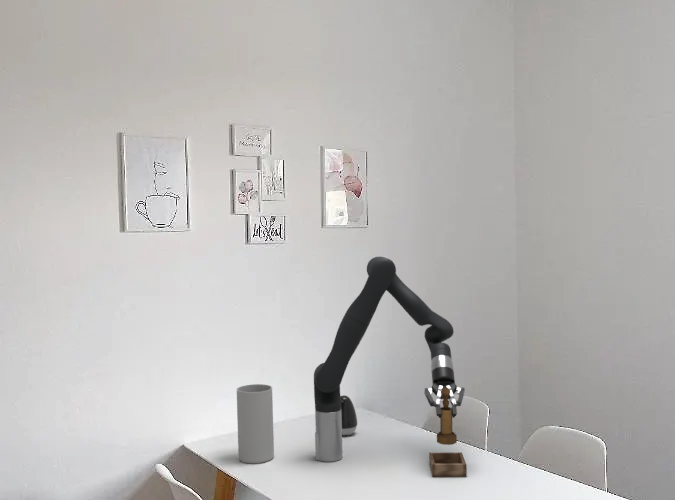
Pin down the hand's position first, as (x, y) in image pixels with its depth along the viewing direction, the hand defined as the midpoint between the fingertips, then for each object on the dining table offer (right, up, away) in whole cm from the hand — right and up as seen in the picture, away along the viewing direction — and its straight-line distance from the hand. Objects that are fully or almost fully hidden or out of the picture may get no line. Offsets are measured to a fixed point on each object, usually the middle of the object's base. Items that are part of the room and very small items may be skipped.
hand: (446, 416), depth 224 cm
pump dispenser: (-33, -18, +45) cm, 59 cm away
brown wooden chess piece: (0, -9, +2) cm, 9 cm away
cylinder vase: (-65, -20, +19) cm, 70 cm away
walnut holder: (+1, -18, +2) cm, 19 cm away
